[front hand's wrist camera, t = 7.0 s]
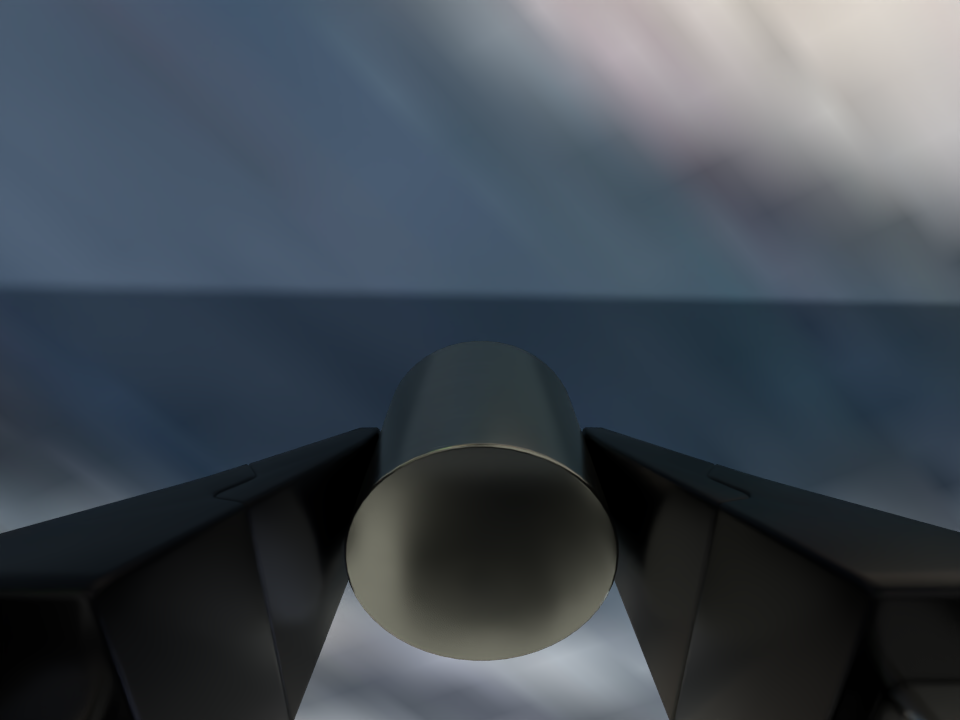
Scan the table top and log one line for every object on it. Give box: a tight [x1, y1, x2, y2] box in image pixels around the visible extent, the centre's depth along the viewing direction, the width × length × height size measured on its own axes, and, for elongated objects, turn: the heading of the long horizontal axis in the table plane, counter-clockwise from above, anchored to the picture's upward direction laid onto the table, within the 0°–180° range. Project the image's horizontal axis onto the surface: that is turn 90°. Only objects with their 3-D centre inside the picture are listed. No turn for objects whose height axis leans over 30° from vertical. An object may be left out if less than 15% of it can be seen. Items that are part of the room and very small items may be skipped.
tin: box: [344, 341, 619, 661], centre depth 10 cm, size 4×4×4 cm
